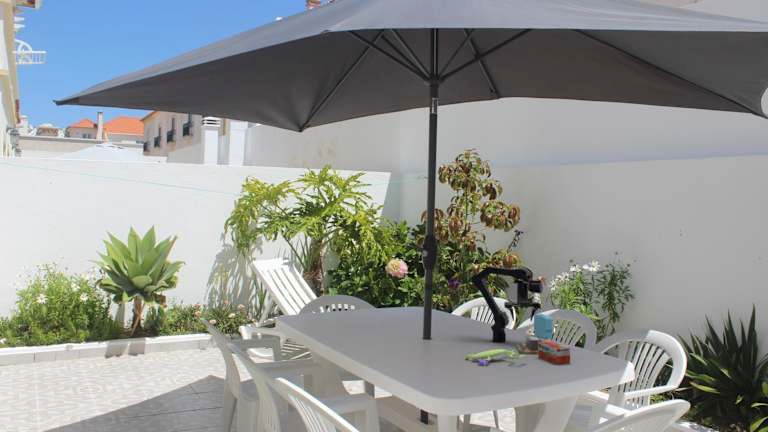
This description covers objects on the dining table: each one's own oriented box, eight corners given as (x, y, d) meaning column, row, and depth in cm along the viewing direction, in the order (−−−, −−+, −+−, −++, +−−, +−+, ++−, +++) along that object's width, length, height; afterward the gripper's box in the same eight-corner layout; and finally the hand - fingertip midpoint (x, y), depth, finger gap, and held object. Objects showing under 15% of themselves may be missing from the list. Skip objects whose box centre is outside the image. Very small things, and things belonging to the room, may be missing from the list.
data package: (552, 338, 369) (552, 316, 369) (545, 339, 368) (545, 317, 367) (540, 334, 380) (540, 313, 380) (533, 334, 379) (533, 314, 379)
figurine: (528, 367, 305) (528, 354, 305) (470, 367, 303) (471, 355, 303) (518, 357, 323) (518, 346, 323) (464, 358, 322) (464, 346, 322)
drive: (529, 350, 332) (530, 340, 332) (526, 346, 342) (526, 336, 342) (542, 350, 332) (542, 340, 332) (537, 346, 342) (537, 336, 342)
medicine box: (570, 363, 310) (570, 346, 310) (555, 365, 308) (555, 347, 308) (551, 356, 325) (551, 340, 325) (537, 358, 322) (537, 341, 322)
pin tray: (519, 353, 330) (519, 345, 330) (516, 347, 346) (516, 339, 346) (552, 354, 328) (552, 346, 328) (547, 347, 344) (547, 339, 344)
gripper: (506, 293, 347) (505, 323, 347) (542, 294, 345) (542, 324, 345) (504, 291, 358) (504, 319, 358) (539, 291, 356) (539, 320, 356)
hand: (522, 321), depth 354 cm, fingers open, 9 cm apart
